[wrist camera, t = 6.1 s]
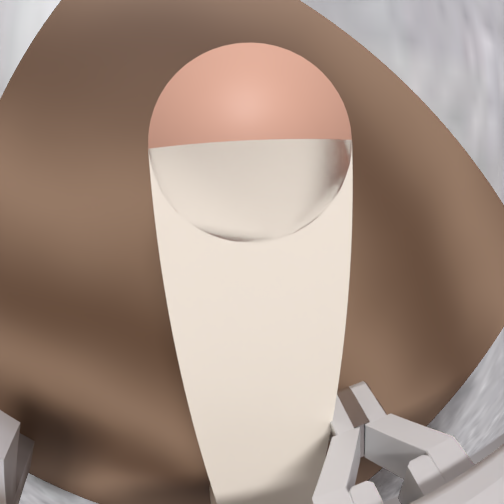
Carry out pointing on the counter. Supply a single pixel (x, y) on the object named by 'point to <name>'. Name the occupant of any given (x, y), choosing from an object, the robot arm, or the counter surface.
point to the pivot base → (148, 260)
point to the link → (255, 261)
